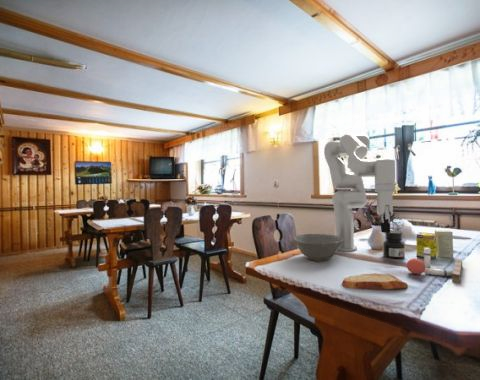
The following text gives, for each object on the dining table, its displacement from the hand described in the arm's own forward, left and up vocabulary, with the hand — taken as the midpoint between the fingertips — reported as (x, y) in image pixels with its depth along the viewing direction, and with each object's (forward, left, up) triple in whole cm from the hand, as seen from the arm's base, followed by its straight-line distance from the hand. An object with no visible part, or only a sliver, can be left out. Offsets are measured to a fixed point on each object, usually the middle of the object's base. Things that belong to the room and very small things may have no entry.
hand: (385, 232), depth 112 cm
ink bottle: (+6, +20, -15) cm, 26 cm away
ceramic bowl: (-28, +7, -15) cm, 33 cm away
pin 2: (+13, -4, -14) cm, 19 cm away
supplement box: (+20, +23, -15) cm, 34 cm away
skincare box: (+28, +27, -15) cm, 42 cm away
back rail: (+25, 0, -15) cm, 29 cm away
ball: (+10, -5, -12) cm, 16 cm away
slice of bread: (-7, -22, -16) cm, 28 cm away
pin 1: (+16, +4, -15) cm, 22 cm away
